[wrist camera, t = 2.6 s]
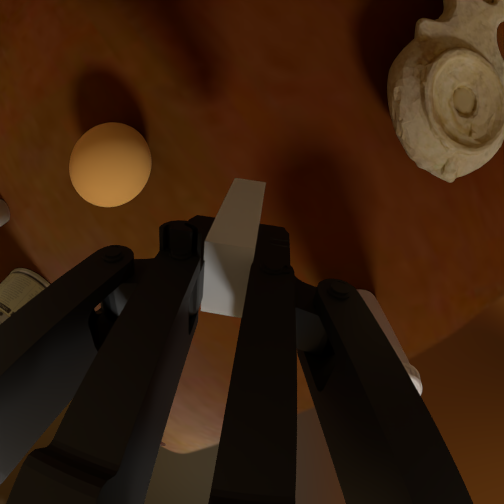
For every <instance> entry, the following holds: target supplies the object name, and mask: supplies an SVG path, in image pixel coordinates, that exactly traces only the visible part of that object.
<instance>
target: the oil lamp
mask: <svg viewBox="0 0 504 504" xmlns="http://www.w3.org/2000/svg"><path fill="white" fill-rule="evenodd" d="M443 4H444V10H443V14H442V15H441V16H440V17H439V19H436V20H432V19H428V18H421V19H419V20H418V21H417V22H416V27H415V36H414V39H413V40H412V41H411V42H410V43H409V44H408V45H407V46H406V47H405V48H404V49H403V50H402V51H401V52H400V53H399V55H398V56H397V57H396V59H395V60H394V62H393V64H392V66H391V68H390V70H389V74H388V81H387V96H388V105H389V111H390V116H391V119H392V123H393V126H394V129H395V132H396V134H397V136H398V138H399V140H400V142H401V144H402V145H403V147H404V149H405V151H406V153H407V154H408V156H409V157H410V158H411V159H412V160H413V161H415V163H416V165H417V167H419V168H422V169H425V170H427V171H428V172H430V173H431V174H433V175H435V176H437V177H438V178H440V179H443V180H445V181H447V182H453V181H454V180H455V178H457V177H461V176H464V175H467V174H469V173H470V172H472V171H474V170H476V169H478V168H480V167H481V166H482V165H484V164H485V163H486V162H488V161H489V160H490V159H491V158H492V157H493V156H494V154H495V153H496V152H497V151H498V149H499V148H500V147H501V144H502V142H503V140H504V60H503V58H502V57H501V55H500V52H499V48H498V45H497V40H496V33H497V27H498V25H499V24H500V23H501V22H503V21H504V0H443Z"/></svg>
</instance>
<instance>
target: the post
mask: <svg viewBox="0 0 504 504" xmlns="http://www.w3.org/2000/svg"><path fill="white" fill-rule="evenodd" d="M9 219H10V211H9V208H8V206H7V204H6V203H5V202H4V201H3V200H2V199H0V227H1V226H2V225H4V224H5V223H6V222H8V221H9Z"/></svg>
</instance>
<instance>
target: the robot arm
mask: <svg viewBox="0 0 504 504" xmlns="http://www.w3.org/2000/svg"><path fill="white" fill-rule="evenodd" d="M265 185H266V182H259V181H253V180H246V179H239V178H235V179H234V181H233V183H232V185H231V187H230V189H229V191H228V193H227V195H226V197H225V199H224V201H223V204H222V206H221V208H220V210H219V212H218V214H217V216H216V218H213V217H206V216H199V215H197V216H195V217H193V218H191V219H189V221H180V220H177V221H170V222H167V223H164V224H163V225H161V226H160V227H159V239H160V251H159V253H158V254H157V256H156V257H155V258H152V259H134V253H133V252H132V250H131V249H129V248H127V247H125V246H120V245H110V246H107V247H104V248H102V249H100V250H98V251H96V252H95V253H93V254H92V255H90V256H89V257H88V258H86V259H85V260H83V261H82V262H81V263H79V264H78V265H76V266H75V267H74V268H72V269H71V270H69V271H68V272H67V273H65V274H64V275H63V276H61V277H60V278H59V279H57V280H56V281H54V282H53V283H52V284H50V285H49V286H48V287H47V288H45V289H44V290H43V291H41V292H40V293H39V294H37V295H36V296H35V297H34V298H32V299H31V300H30V301H28V302H27V303H26V304H25V305H23V306H22V307H21V308H20V309H18V310H17V311H16V312H15V313H14V314H12V315H11V316H10V317H9V318H7V319H6V320H5V321H4V322H3V323H1V324H0V484H1V483H2V482H3V481H4V480H5V479H6V478H7V477H8V475H9V474H10V473H11V471H12V470H13V469H14V468H15V467H16V465H17V464H18V463H19V462H20V460H21V459H22V458H23V457H24V456H25V454H26V453H27V452H28V451H29V449H30V448H31V447H32V446H33V445H34V443H35V442H36V441H37V440H38V439H39V437H40V436H41V435H42V434H43V432H45V430H46V429H47V428H48V427H49V426H50V424H51V423H52V422H53V421H54V420H55V418H56V417H57V416H58V415H59V414H60V413H61V412H62V410H63V409H64V408H65V407H66V406H67V405H68V403H69V402H70V401H71V400H72V399H73V400H72V402H71V403H70V405H69V408H68V410H67V411H66V413H65V416H64V418H63V420H62V422H61V424H60V426H59V428H58V430H57V432H56V434H55V436H54V439H53V440H52V442H51V443H50V445H49V446H47V447H45V448H39V449H35V450H34V451H32V452H31V453H30V454H29V455H28V456H27V458H26V460H25V461H24V463H23V465H22V467H21V469H20V472H19V474H18V476H17V478H16V481H15V483H14V486H13V488H12V490H11V493H10V495H9V498H8V500H7V503H6V504H144V502H145V498H146V494H147V490H148V486H149V483H150V479H151V476H152V472H153V468H154V465H155V461H156V458H157V454H158V450H159V447H160V444H161V440H162V437H163V433H164V430H165V426H166V423H167V420H168V416H169V413H170V409H171V406H172V403H173V399H174V396H175V393H176V390H177V386H178V383H179V380H180V377H181V373H182V370H183V367H184V364H185V360H186V357H187V354H188V351H189V348H190V345H191V341H192V338H193V335H194V332H195V329H196V326H197V323H198V309H199V307H200V304H201V311H205V312H210V313H216V314H222V315H227V316H233V317H240V318H242V319H241V324H240V330H239V336H238V341H237V347H236V353H235V358H234V364H233V369H232V375H231V381H230V386H229V392H228V398H227V403H226V409H225V415H224V420H223V426H222V431H221V437H220V443H219V449H218V455H217V460H216V466H215V471H214V477H213V482H212V488H211V493H210V498H209V503H208V504H295V486H296V485H295V484H296V450H297V449H296V447H297V445H296V444H297V353H298V357H299V360H300V363H301V366H302V369H303V372H304V375H305V378H306V381H307V384H308V387H309V390H310V393H311V396H312V399H313V402H314V405H315V408H316V411H317V415H318V418H319V421H320V424H321V427H322V430H323V433H324V436H325V439H326V442H327V445H328V448H329V452H330V455H331V458H332V461H333V464H334V467H335V470H336V473H337V477H338V480H339V483H340V486H341V489H342V492H343V495H344V499H345V502H346V504H473V502H472V500H471V497H470V495H469V493H468V491H467V488H466V486H465V484H464V482H463V479H462V477H461V475H460V473H459V471H458V469H457V466H456V465H455V462H454V460H453V458H452V456H451V454H450V452H449V450H448V448H447V446H446V444H445V442H444V440H443V438H442V436H441V434H440V432H439V430H438V428H437V426H436V424H435V422H434V421H433V418H432V417H431V415H430V413H429V411H428V409H427V407H426V405H425V404H424V402H423V400H422V398H421V396H420V394H419V392H418V391H417V389H416V387H415V385H414V383H413V382H412V380H411V378H410V376H409V375H408V373H407V371H406V369H405V368H404V366H403V364H402V362H401V361H400V359H399V357H398V355H397V354H396V352H395V350H394V349H393V347H392V345H391V344H390V342H389V340H388V339H387V337H386V335H385V334H384V332H383V330H382V329H381V327H380V325H379V324H378V322H377V321H376V319H375V317H374V316H373V314H372V312H371V311H370V309H369V308H368V306H367V304H366V303H365V301H364V300H363V298H362V297H361V295H360V293H359V292H358V291H357V290H356V289H355V287H354V286H352V285H350V284H349V283H347V282H345V281H342V280H339V279H325V280H323V281H321V282H319V284H318V286H317V287H314V286H312V285H309V284H306V283H304V282H302V281H301V280H299V279H297V278H296V277H295V276H294V270H293V267H291V266H290V248H289V247H290V243H289V233H288V232H287V231H286V230H285V228H283V227H277V226H271V225H265V224H259V223H260V217H261V210H262V204H263V198H264V191H265ZM99 303H101V308H100V309H99V310H98V311H96V312H95V310H94V308H95V307H96V306H97V305H98V304H99Z"/></svg>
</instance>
